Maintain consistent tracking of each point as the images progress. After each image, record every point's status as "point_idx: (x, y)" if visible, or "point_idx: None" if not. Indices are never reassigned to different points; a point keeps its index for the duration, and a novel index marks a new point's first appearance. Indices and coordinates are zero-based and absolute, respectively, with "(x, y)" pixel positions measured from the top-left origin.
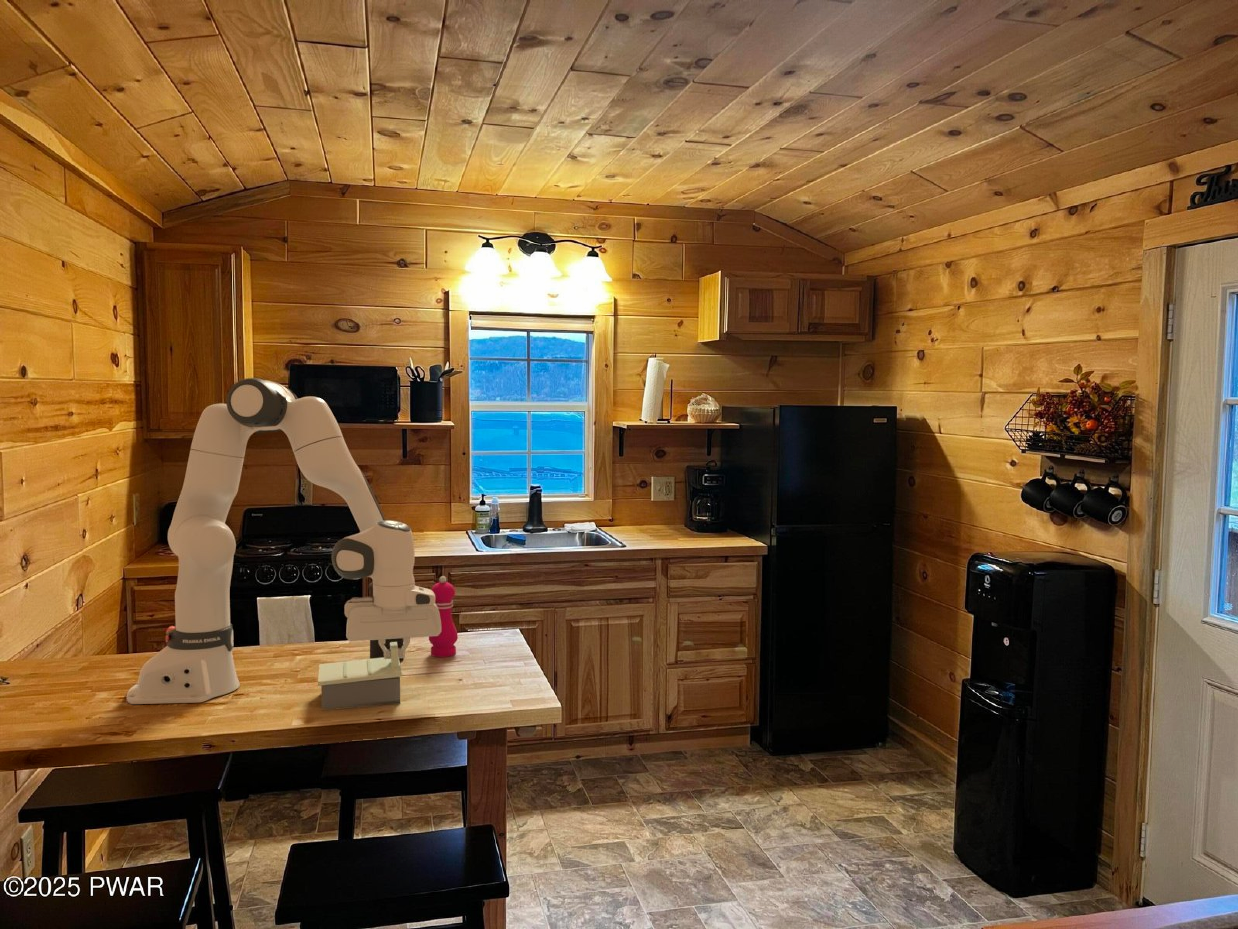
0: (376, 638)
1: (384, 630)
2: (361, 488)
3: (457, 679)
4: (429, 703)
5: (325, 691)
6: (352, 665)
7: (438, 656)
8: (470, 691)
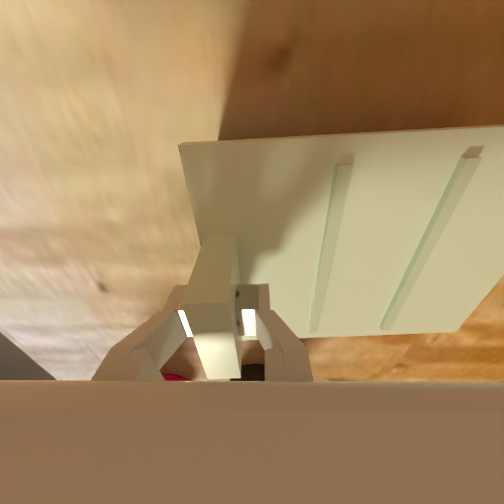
0: (344, 392)
1: (279, 498)
2: None
3: (109, 289)
4: (123, 122)
5: None
6: (372, 301)
7: (176, 376)
8: (39, 209)
